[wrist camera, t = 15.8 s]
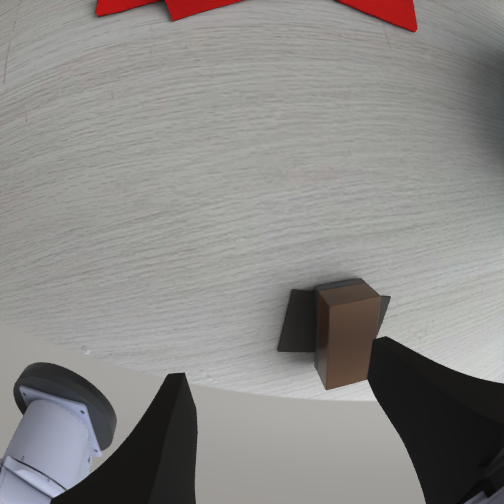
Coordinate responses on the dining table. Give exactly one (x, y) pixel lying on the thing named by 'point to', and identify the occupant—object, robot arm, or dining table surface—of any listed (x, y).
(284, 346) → the dark grey flat slab
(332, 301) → the eraser
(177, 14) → the cloth
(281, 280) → the dining table surface
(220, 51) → the dining table surface
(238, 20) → the dining table surface
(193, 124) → the dining table surface
